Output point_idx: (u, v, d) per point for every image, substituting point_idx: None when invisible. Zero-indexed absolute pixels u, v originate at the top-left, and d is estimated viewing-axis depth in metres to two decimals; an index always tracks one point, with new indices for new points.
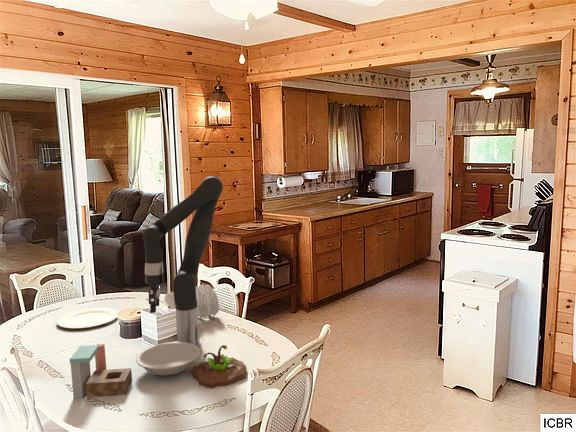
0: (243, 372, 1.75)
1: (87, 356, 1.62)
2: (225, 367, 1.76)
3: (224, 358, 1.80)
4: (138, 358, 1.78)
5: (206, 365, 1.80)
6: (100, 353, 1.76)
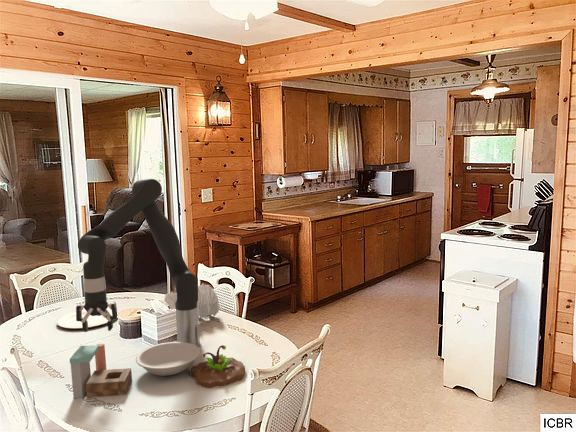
0: (241, 372, 1.75)
1: (87, 356, 1.62)
2: (224, 367, 1.76)
3: (223, 358, 1.80)
4: (138, 358, 1.78)
5: (205, 365, 1.80)
6: (100, 353, 1.76)
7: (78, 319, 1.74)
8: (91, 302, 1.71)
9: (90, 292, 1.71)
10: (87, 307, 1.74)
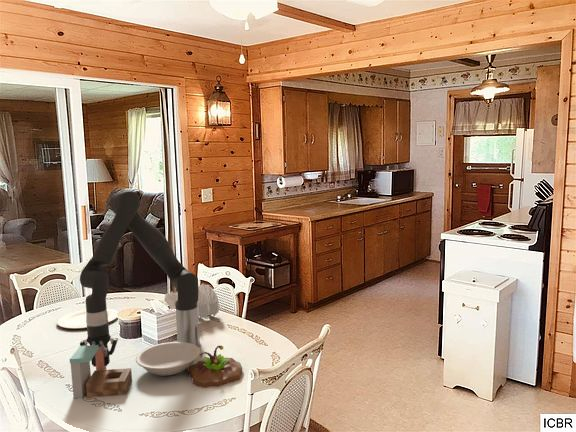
0: (237, 373, 1.74)
1: (87, 356, 1.62)
2: (220, 367, 1.76)
3: (221, 358, 1.80)
4: (138, 358, 1.78)
5: (203, 364, 1.81)
6: (100, 353, 1.76)
7: None
8: (94, 336, 1.73)
9: (93, 326, 1.72)
10: (89, 340, 1.75)
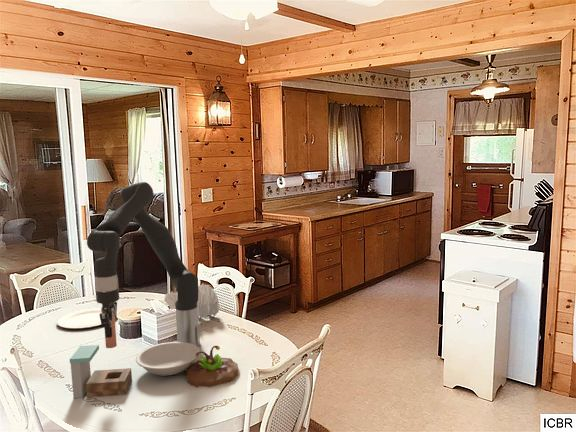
0: (231, 374, 1.73)
1: (87, 356, 1.62)
2: (215, 368, 1.76)
3: (217, 358, 1.80)
4: (138, 358, 1.78)
5: (201, 363, 1.82)
6: (114, 319, 1.66)
7: (109, 324, 1.61)
8: (118, 298, 1.64)
9: (117, 288, 1.64)
10: (109, 308, 1.62)
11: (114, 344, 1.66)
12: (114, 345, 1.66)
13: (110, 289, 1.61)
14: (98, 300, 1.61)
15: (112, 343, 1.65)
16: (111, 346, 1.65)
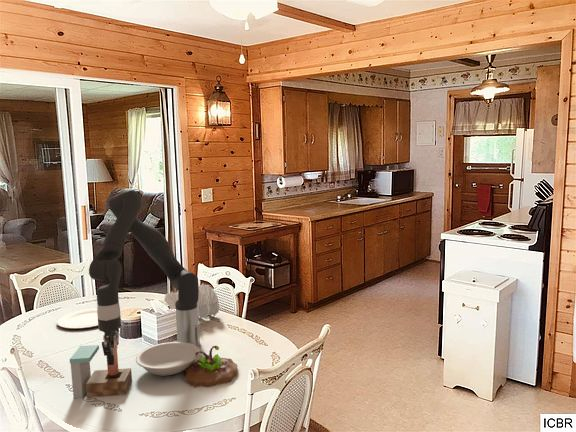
0: (229, 375, 1.73)
1: (87, 356, 1.62)
2: (214, 368, 1.76)
3: (217, 358, 1.80)
4: (138, 358, 1.78)
5: (200, 363, 1.82)
6: (116, 346, 1.68)
7: (111, 352, 1.63)
8: (120, 326, 1.66)
9: (119, 316, 1.65)
10: (111, 336, 1.63)
11: (116, 371, 1.67)
12: (116, 372, 1.67)
13: (112, 317, 1.62)
14: (100, 328, 1.62)
15: (114, 370, 1.66)
16: (113, 373, 1.66)
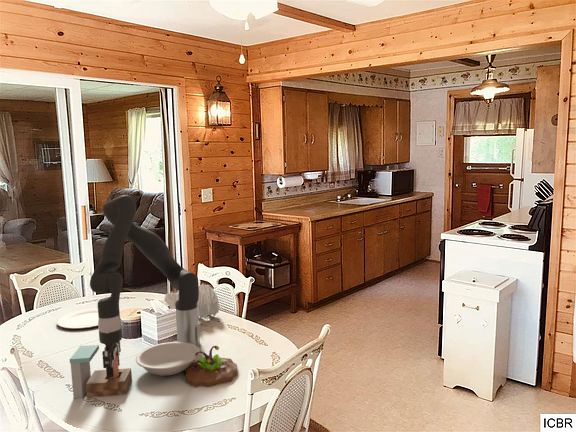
0: (230, 374, 1.73)
1: (87, 356, 1.62)
2: (214, 368, 1.76)
3: (217, 358, 1.80)
4: (138, 358, 1.78)
5: (200, 363, 1.82)
6: None
7: (111, 365, 1.61)
8: (121, 338, 1.66)
9: (120, 328, 1.65)
10: (112, 349, 1.64)
11: None
12: None
13: (113, 330, 1.63)
14: (101, 340, 1.63)
15: None
16: None
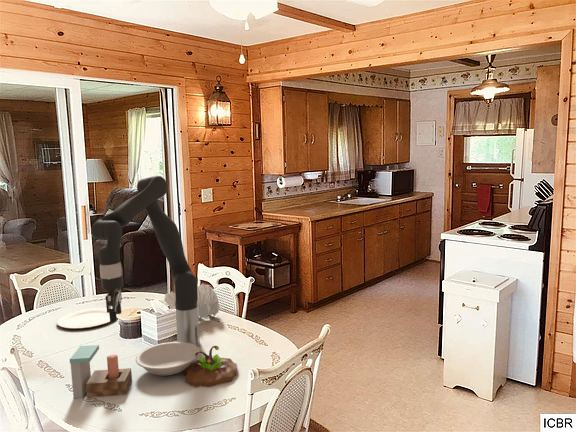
0: (230, 374, 1.73)
1: (87, 356, 1.62)
2: (215, 368, 1.76)
3: (217, 358, 1.80)
4: (138, 358, 1.78)
5: None
6: None
7: (114, 309, 1.66)
8: (122, 285, 1.71)
9: (121, 275, 1.70)
10: (114, 295, 1.69)
11: None
12: None
13: (115, 276, 1.68)
14: (104, 287, 1.68)
15: None
16: None
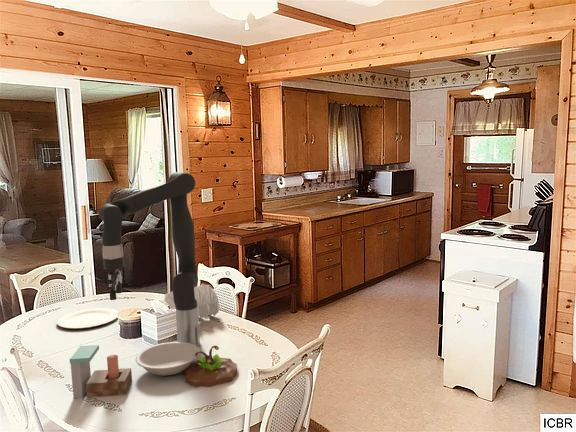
0: (230, 374, 1.73)
1: (87, 356, 1.62)
2: (214, 368, 1.76)
3: (217, 358, 1.80)
4: (138, 358, 1.78)
5: (200, 363, 1.82)
6: None
7: (114, 288, 1.78)
8: (123, 265, 1.83)
9: (122, 256, 1.82)
10: (115, 274, 1.80)
11: None
12: None
13: (116, 257, 1.79)
14: (105, 266, 1.79)
15: None
16: None
